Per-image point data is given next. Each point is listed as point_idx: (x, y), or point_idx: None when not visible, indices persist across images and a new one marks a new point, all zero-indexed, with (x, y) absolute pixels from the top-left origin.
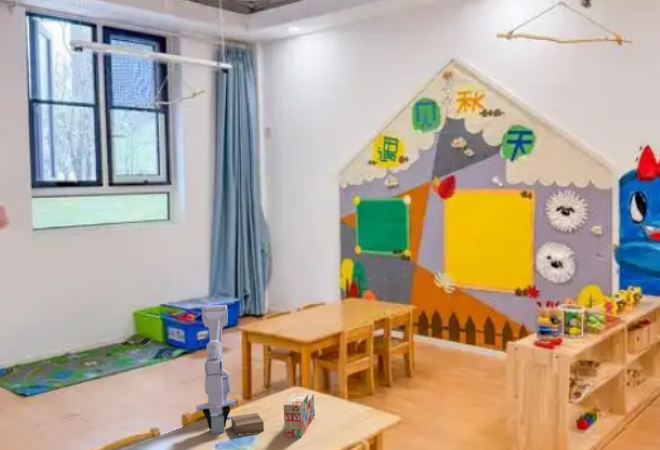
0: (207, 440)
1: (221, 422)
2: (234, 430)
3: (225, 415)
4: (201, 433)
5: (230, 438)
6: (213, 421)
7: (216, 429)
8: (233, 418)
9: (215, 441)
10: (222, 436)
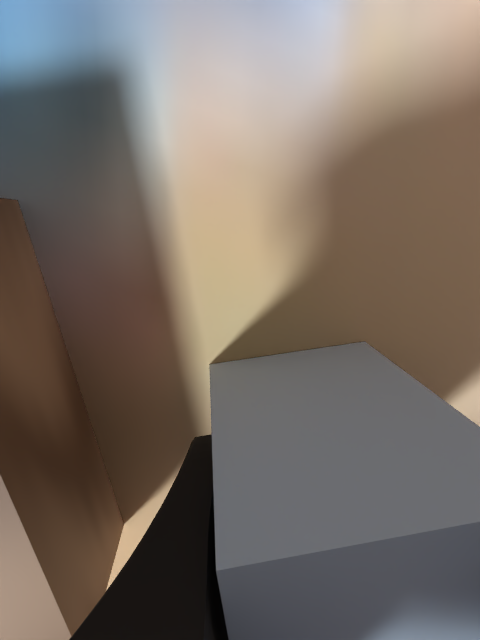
0: (450, 136)
1: (263, 444)
2: (72, 381)
3: (156, 623)
4: (471, 394)
5: (118, 104)
6: (450, 447)
7: (325, 371)
8: (33, 604)
9: (350, 50)
10: (238, 228)
